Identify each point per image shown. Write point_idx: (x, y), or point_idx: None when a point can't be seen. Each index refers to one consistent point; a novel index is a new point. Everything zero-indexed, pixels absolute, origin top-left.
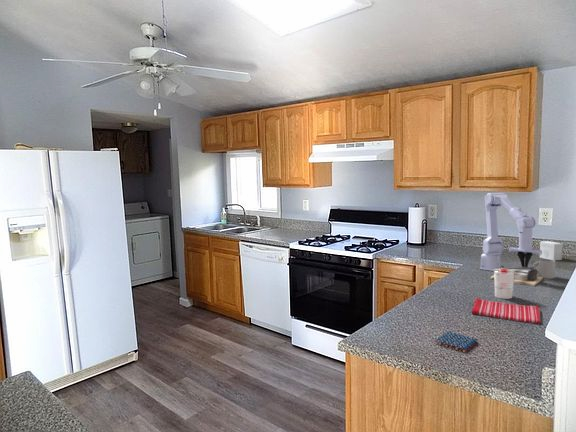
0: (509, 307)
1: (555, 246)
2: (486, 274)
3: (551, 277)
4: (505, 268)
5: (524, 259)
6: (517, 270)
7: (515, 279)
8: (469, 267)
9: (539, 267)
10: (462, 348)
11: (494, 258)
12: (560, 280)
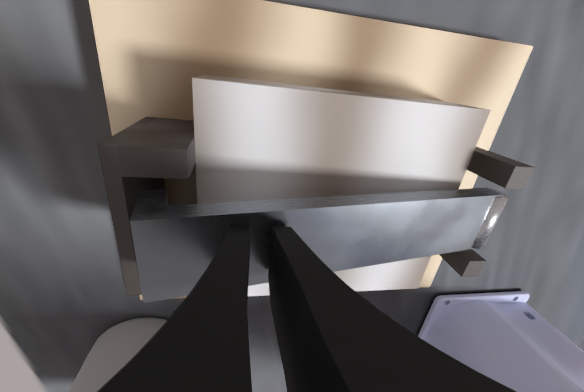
0: None
1: None
2: (511, 195)
3: (99, 338)
4: (453, 195)
5: (287, 388)
6: None
7: (314, 77)
8: (571, 294)
9: None
10: None
11: (530, 388)
12: (31, 325)
